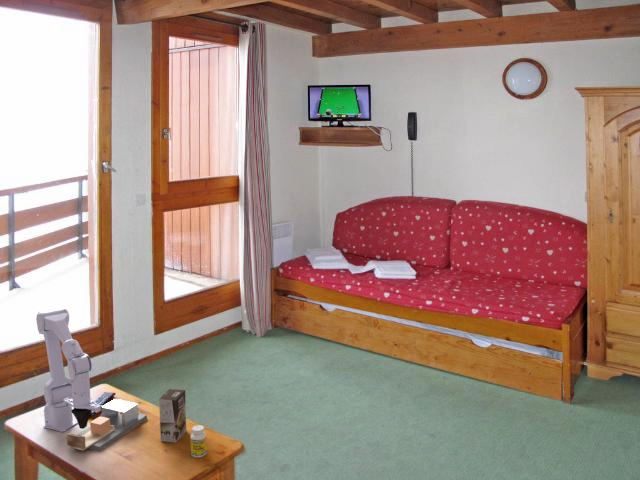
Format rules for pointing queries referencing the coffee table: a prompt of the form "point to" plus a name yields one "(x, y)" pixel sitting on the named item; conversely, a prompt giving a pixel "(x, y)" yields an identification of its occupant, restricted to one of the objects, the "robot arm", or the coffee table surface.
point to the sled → (85, 439)
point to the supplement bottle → (198, 441)
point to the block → (100, 425)
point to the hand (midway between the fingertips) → (83, 427)
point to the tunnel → (121, 411)
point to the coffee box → (172, 415)
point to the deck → (115, 430)
